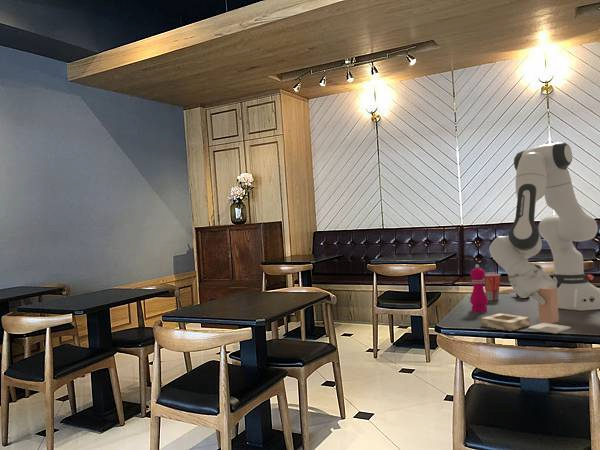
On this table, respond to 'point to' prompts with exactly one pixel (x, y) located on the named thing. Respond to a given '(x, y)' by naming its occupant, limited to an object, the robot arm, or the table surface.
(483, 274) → the pepper mill
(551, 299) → the terracotta block
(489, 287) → the cup
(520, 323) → the pocket board
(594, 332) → the table surface
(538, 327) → the felt pad
